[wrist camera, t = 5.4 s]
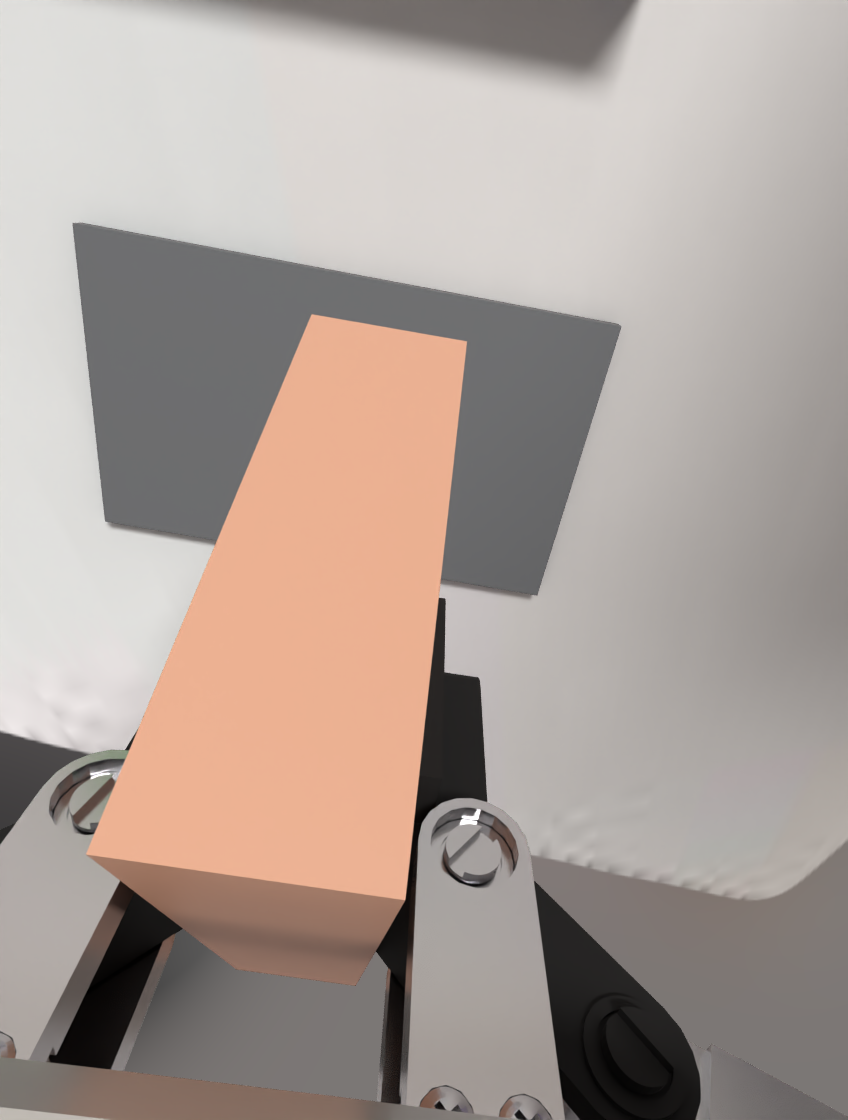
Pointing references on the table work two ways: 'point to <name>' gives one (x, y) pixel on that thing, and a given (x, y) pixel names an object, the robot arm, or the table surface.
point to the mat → (262, 364)
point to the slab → (303, 671)
